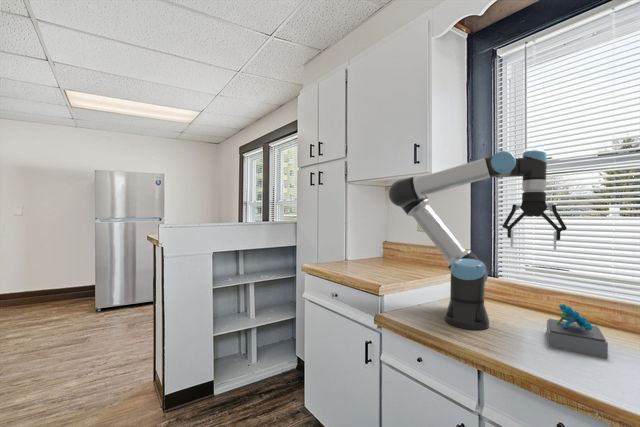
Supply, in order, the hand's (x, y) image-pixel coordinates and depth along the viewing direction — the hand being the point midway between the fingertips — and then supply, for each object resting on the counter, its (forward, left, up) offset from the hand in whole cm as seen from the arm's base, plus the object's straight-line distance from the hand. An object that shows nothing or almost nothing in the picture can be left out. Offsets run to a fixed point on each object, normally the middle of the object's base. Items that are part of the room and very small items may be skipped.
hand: (532, 247), depth 123 cm
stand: (+12, -15, -29) cm, 34 cm away
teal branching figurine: (+11, -15, -24) cm, 31 cm away
